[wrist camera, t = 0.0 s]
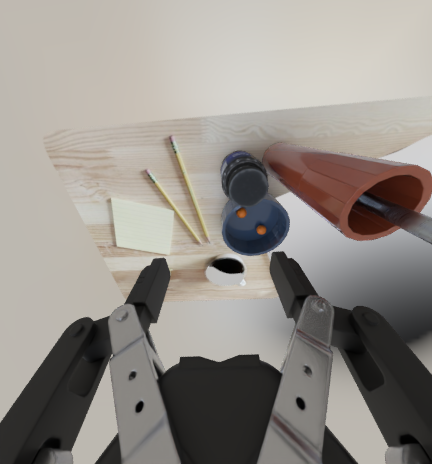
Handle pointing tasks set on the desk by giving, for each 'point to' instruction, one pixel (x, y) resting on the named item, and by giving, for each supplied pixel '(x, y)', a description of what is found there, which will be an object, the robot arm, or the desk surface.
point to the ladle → (398, 215)
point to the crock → (347, 185)
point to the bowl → (255, 226)
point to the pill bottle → (244, 179)
